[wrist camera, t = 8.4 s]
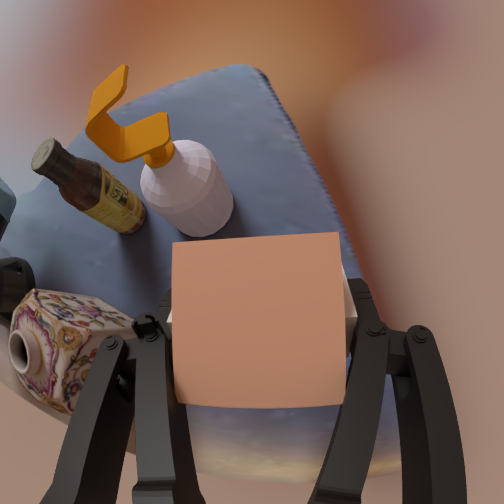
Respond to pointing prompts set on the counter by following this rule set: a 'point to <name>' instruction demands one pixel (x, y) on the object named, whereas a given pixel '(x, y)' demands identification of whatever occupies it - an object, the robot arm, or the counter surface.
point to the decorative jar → (60, 343)
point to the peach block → (259, 321)
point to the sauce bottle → (90, 188)
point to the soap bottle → (162, 163)
